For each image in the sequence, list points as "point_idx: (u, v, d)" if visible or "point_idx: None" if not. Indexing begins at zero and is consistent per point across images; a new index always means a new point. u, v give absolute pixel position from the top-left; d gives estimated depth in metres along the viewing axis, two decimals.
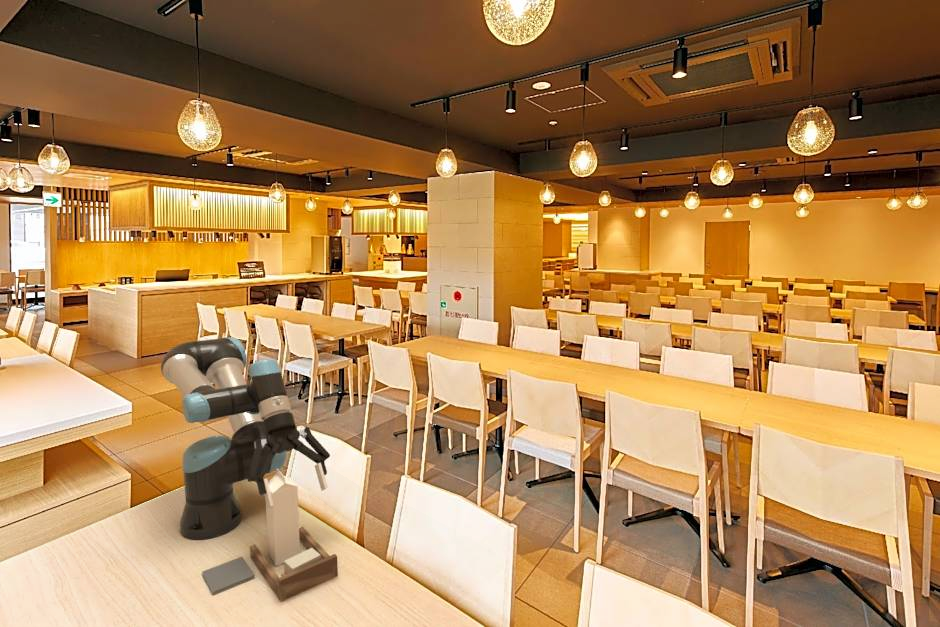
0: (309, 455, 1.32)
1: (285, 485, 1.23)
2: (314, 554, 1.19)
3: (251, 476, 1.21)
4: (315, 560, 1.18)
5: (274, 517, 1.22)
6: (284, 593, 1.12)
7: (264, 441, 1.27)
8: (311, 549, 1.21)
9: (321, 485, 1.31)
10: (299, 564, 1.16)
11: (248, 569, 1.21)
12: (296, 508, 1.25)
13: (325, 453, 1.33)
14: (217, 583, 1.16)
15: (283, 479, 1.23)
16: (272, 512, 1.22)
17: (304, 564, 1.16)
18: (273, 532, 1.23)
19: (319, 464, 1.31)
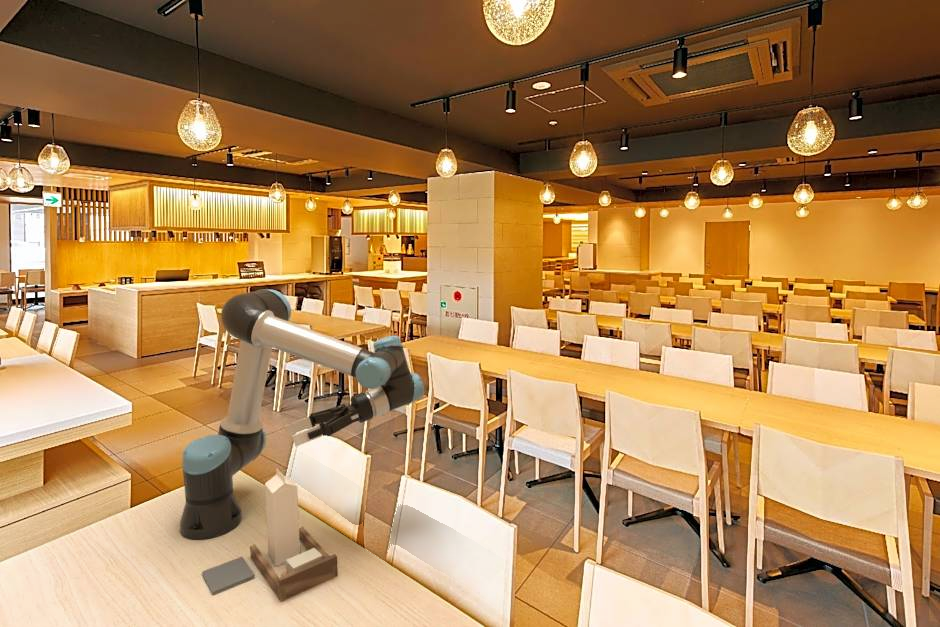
0: (321, 419, 1.37)
1: (285, 485, 1.23)
2: (316, 554, 1.19)
3: (330, 435, 1.23)
4: (316, 560, 1.18)
5: (274, 517, 1.22)
6: (284, 593, 1.12)
7: None
8: (313, 549, 1.21)
9: (290, 428, 1.34)
10: (300, 564, 1.16)
11: (248, 569, 1.21)
12: (296, 508, 1.25)
13: None
14: (217, 583, 1.16)
15: (283, 479, 1.23)
16: (272, 512, 1.22)
17: (305, 564, 1.16)
18: (273, 532, 1.23)
19: (310, 426, 1.37)
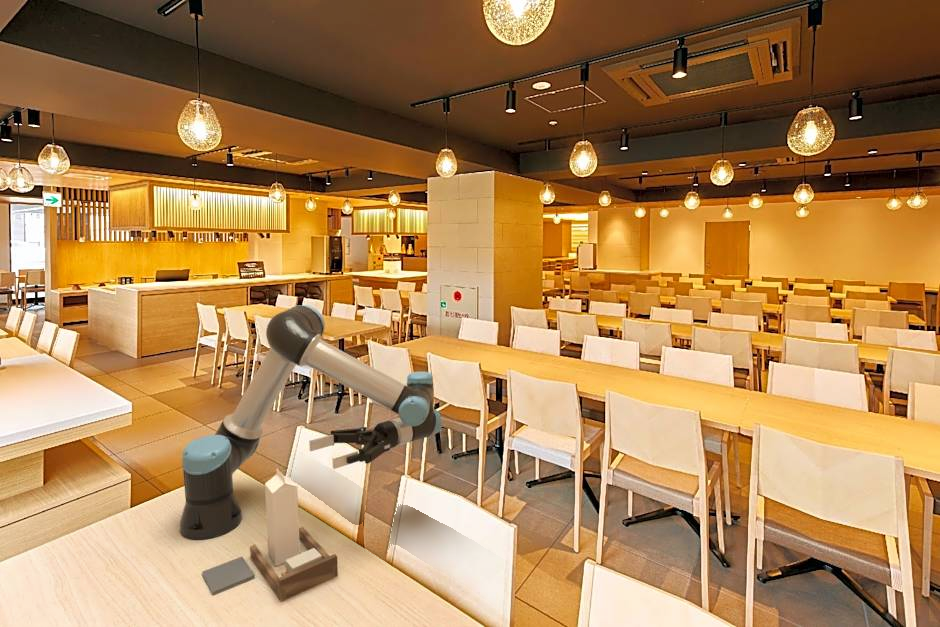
0: (344, 440, 1.40)
1: (285, 485, 1.23)
2: (316, 554, 1.19)
3: None
4: (316, 561, 1.18)
5: (274, 517, 1.22)
6: (284, 593, 1.12)
7: None
8: (313, 549, 1.21)
9: (314, 443, 1.36)
10: (300, 564, 1.16)
11: (248, 569, 1.21)
12: (296, 508, 1.25)
13: None
14: (217, 583, 1.16)
15: (283, 479, 1.23)
16: (272, 512, 1.22)
17: (305, 564, 1.16)
18: (273, 532, 1.23)
19: None
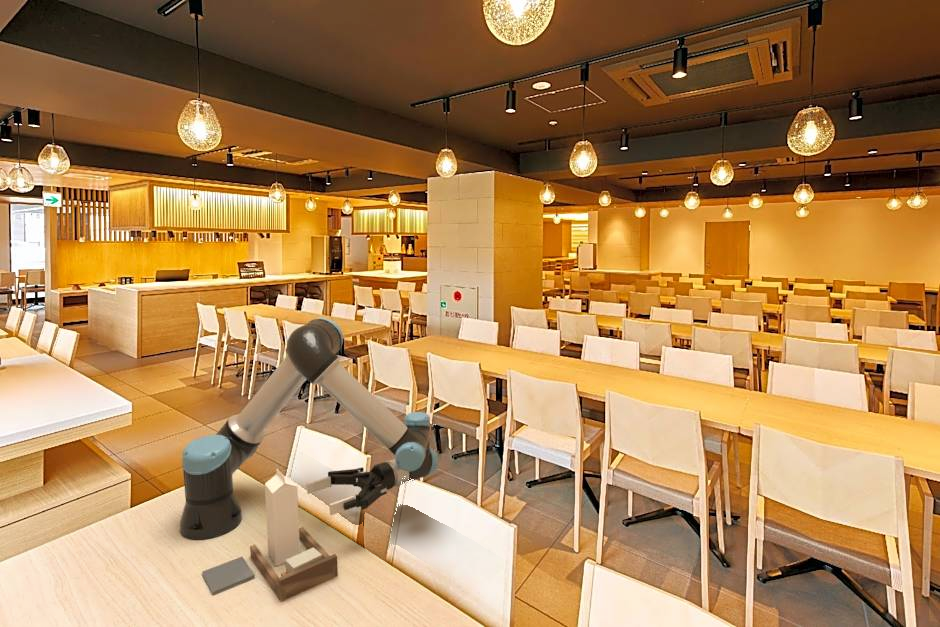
0: (341, 481, 1.42)
1: (285, 485, 1.23)
2: (316, 554, 1.19)
3: None
4: (316, 560, 1.18)
5: (274, 517, 1.22)
6: (284, 593, 1.12)
7: None
8: (313, 549, 1.21)
9: (312, 486, 1.37)
10: (300, 563, 1.16)
11: (248, 569, 1.21)
12: (296, 508, 1.25)
13: None
14: (217, 583, 1.16)
15: (283, 479, 1.23)
16: (272, 512, 1.22)
17: (305, 563, 1.16)
18: (273, 532, 1.23)
19: None
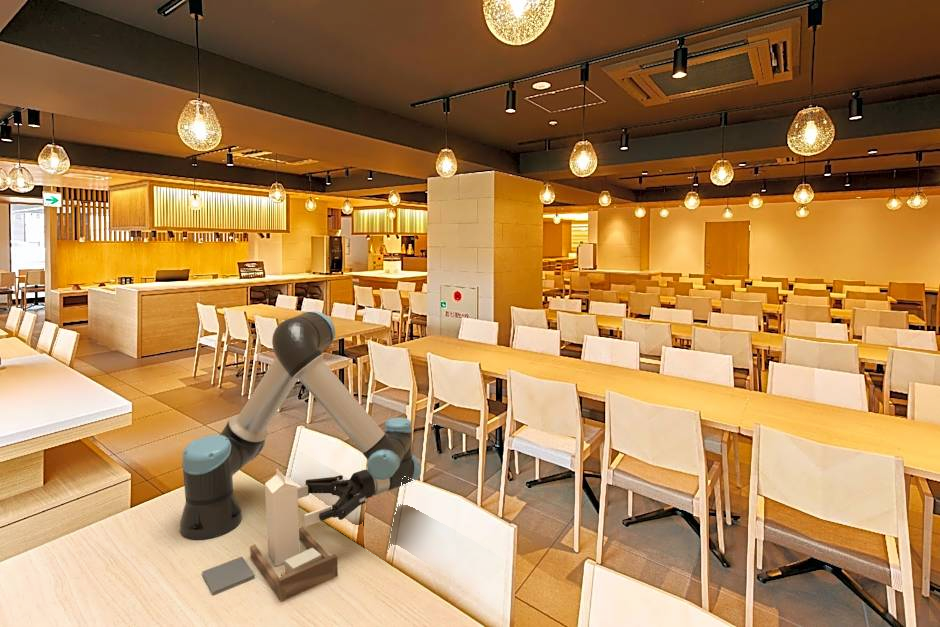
0: (319, 490, 1.37)
1: (285, 485, 1.23)
2: (315, 554, 1.19)
3: None
4: (316, 560, 1.18)
5: (274, 517, 1.22)
6: (284, 593, 1.12)
7: None
8: (312, 549, 1.21)
9: None
10: (300, 564, 1.16)
11: (248, 569, 1.21)
12: (296, 508, 1.25)
13: None
14: (217, 583, 1.16)
15: (283, 479, 1.23)
16: (272, 512, 1.22)
17: (305, 564, 1.16)
18: (273, 532, 1.23)
19: None
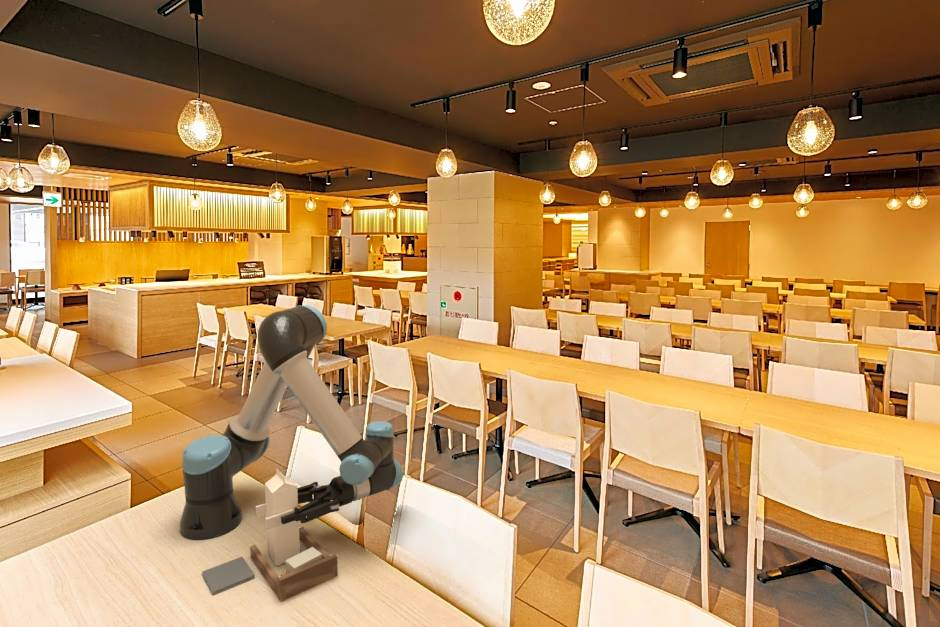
0: None
1: (285, 485, 1.23)
2: (315, 553, 1.19)
3: None
4: (316, 559, 1.18)
5: None
6: (284, 593, 1.12)
7: None
8: (312, 548, 1.21)
9: (261, 509, 1.25)
10: (301, 563, 1.16)
11: (248, 569, 1.21)
12: None
13: None
14: (217, 583, 1.16)
15: (283, 479, 1.23)
16: (272, 512, 1.22)
17: (306, 563, 1.16)
18: (273, 532, 1.23)
19: None
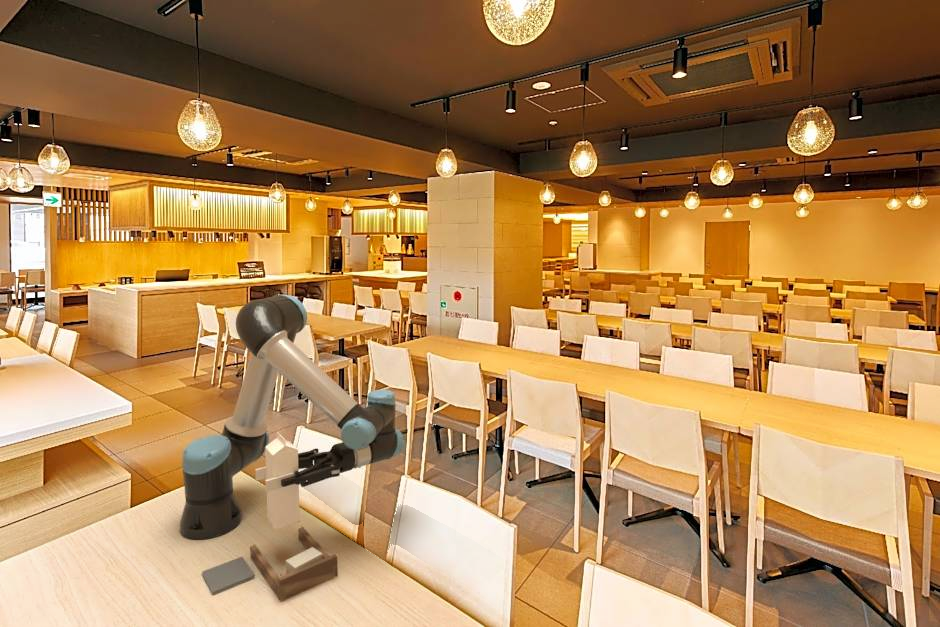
0: None
1: (286, 447, 1.21)
2: (316, 553, 1.20)
3: None
4: (317, 559, 1.19)
5: None
6: (284, 593, 1.12)
7: None
8: (312, 548, 1.21)
9: (261, 472, 1.24)
10: (301, 563, 1.16)
11: (248, 569, 1.21)
12: None
13: None
14: (217, 583, 1.16)
15: (283, 442, 1.21)
16: (272, 475, 1.21)
17: (306, 563, 1.17)
18: (273, 495, 1.21)
19: None
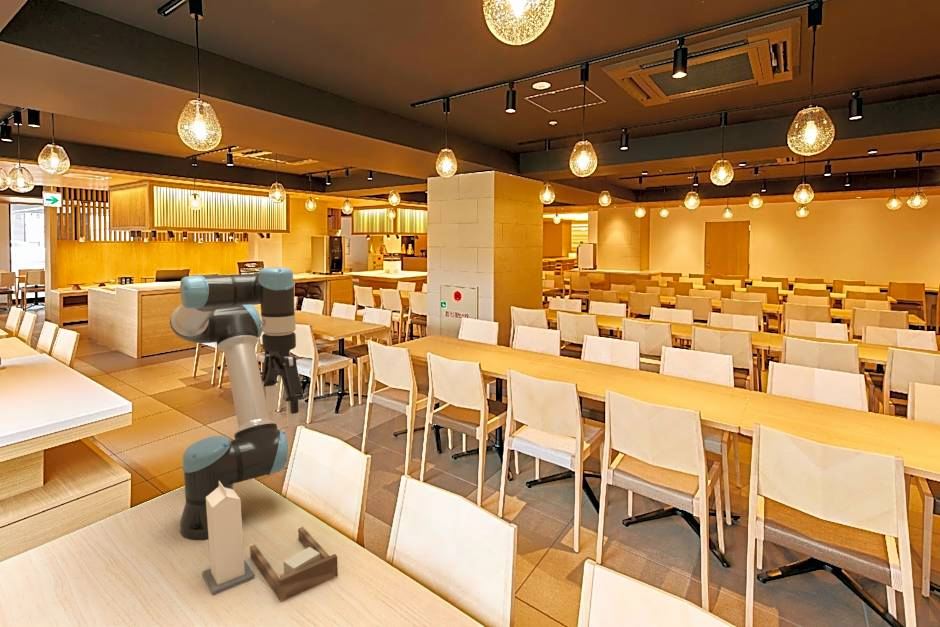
0: None
1: (227, 498, 1.15)
2: (313, 553, 1.20)
3: None
4: (315, 558, 1.19)
5: (215, 533, 1.14)
6: (284, 593, 1.12)
7: None
8: (309, 548, 1.21)
9: None
10: (300, 563, 1.16)
11: (248, 569, 1.21)
12: (239, 523, 1.17)
13: (291, 394, 1.17)
14: None
15: (224, 492, 1.15)
16: (212, 528, 1.14)
17: (305, 563, 1.17)
18: (214, 549, 1.15)
19: (286, 401, 1.19)
